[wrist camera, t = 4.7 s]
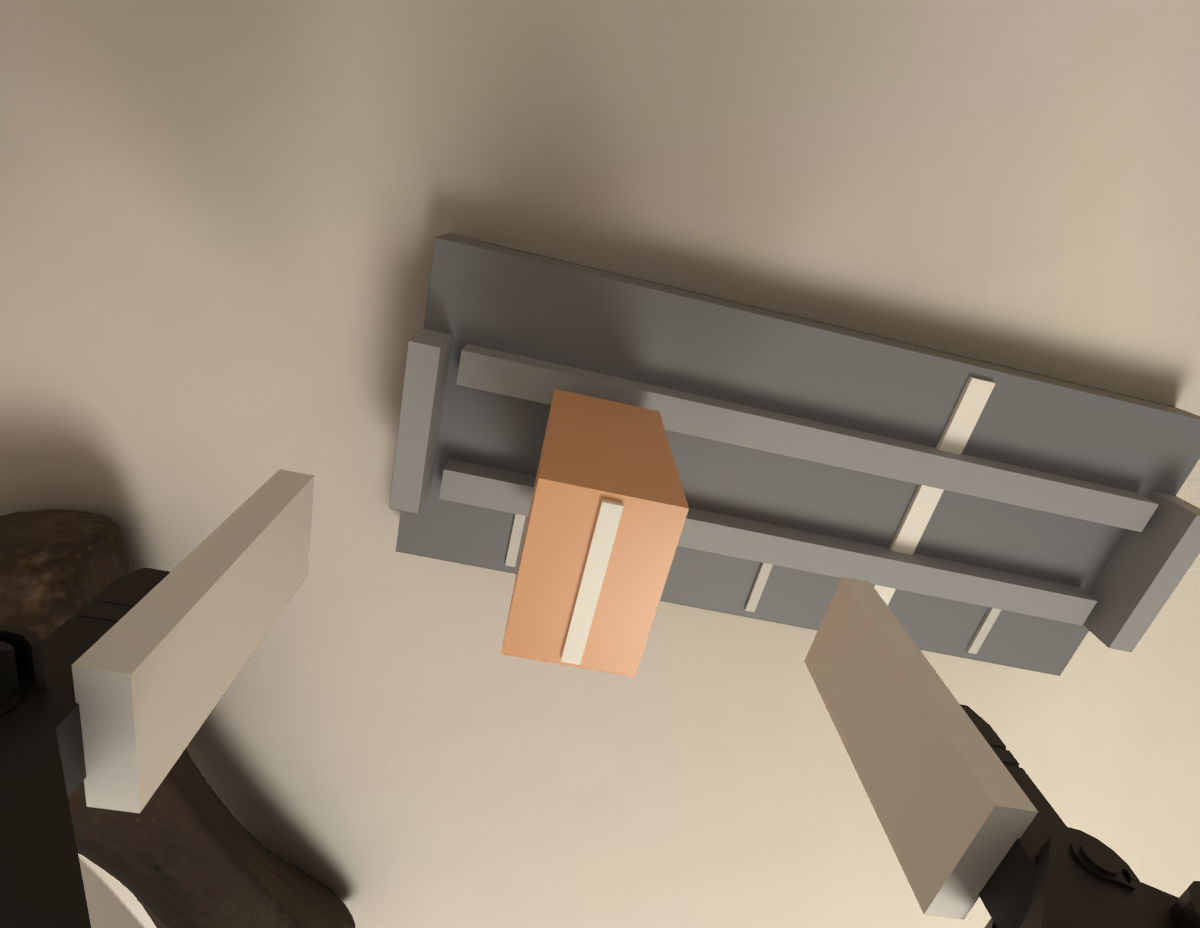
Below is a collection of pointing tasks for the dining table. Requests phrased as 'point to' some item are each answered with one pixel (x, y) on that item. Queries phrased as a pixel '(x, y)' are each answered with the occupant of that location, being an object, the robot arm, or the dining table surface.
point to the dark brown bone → (184, 799)
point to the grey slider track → (802, 459)
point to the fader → (596, 537)
